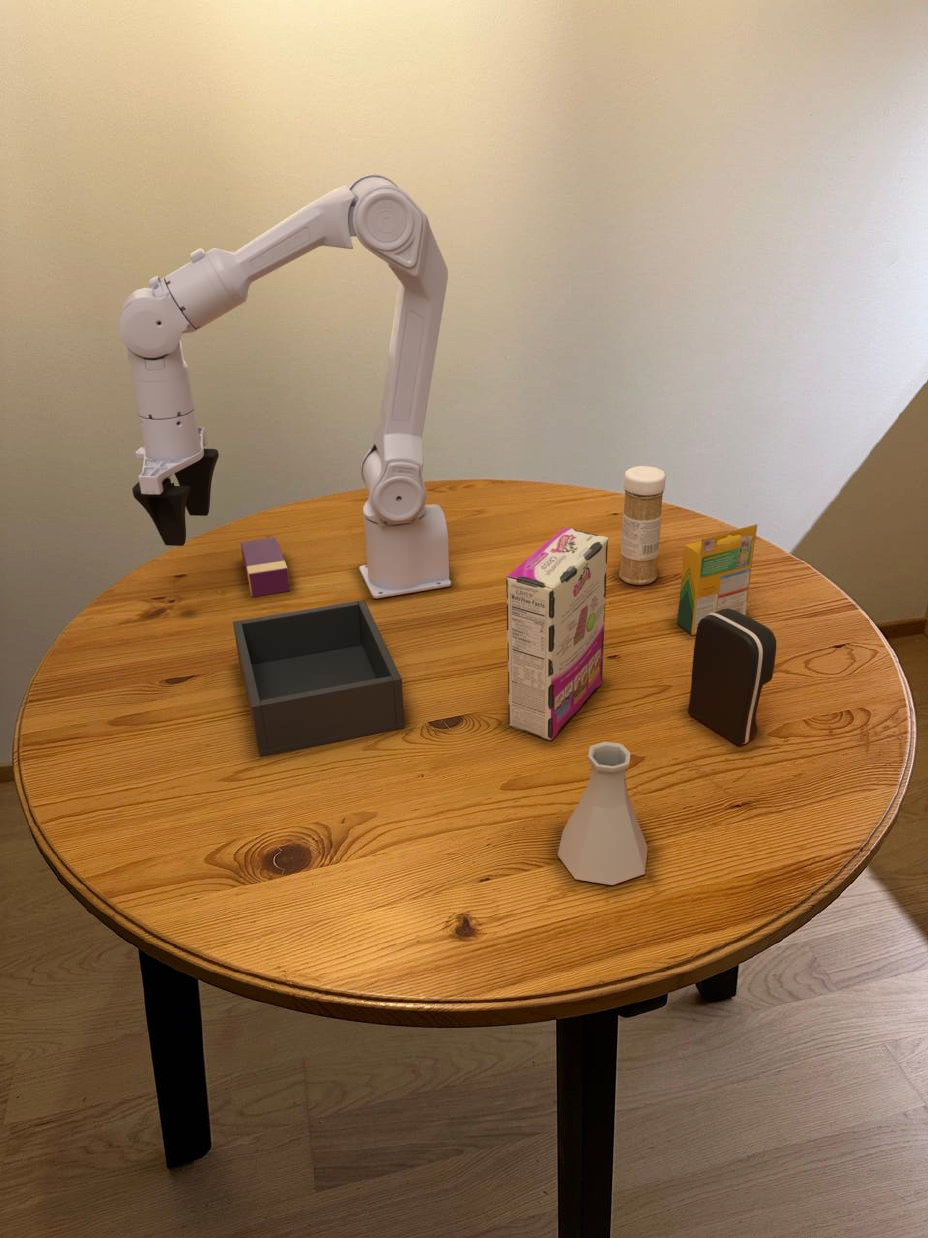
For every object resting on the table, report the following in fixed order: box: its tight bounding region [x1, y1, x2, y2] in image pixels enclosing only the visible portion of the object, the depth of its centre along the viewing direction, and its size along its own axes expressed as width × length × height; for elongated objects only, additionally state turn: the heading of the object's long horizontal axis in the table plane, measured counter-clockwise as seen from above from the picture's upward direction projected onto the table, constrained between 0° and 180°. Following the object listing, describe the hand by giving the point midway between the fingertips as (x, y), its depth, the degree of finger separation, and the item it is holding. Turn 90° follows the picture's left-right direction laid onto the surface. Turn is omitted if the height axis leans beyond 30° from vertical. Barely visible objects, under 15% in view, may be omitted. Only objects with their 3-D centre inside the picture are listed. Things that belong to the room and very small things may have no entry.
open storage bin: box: [232, 599, 405, 758], centre depth 97 cm, size 14×16×6 cm
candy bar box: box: [505, 527, 609, 742], centre depth 92 cm, size 11×5×16 cm, turn 148°
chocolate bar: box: [240, 536, 291, 598], centre depth 120 cm, size 4×9×3 cm, turn 17°
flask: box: [557, 741, 649, 886], centre depth 76 cm, size 7×7×10 cm
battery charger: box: [687, 608, 777, 746], centre depth 90 cm, size 7×4×11 cm, turn 35°
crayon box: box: [676, 523, 758, 637], centre depth 106 cm, size 7×3×12 cm, turn 115°
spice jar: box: [618, 465, 667, 586], centre depth 115 cm, size 5×5×14 cm
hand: (187, 529), depth 110 cm, fingers open, 7 cm apart
